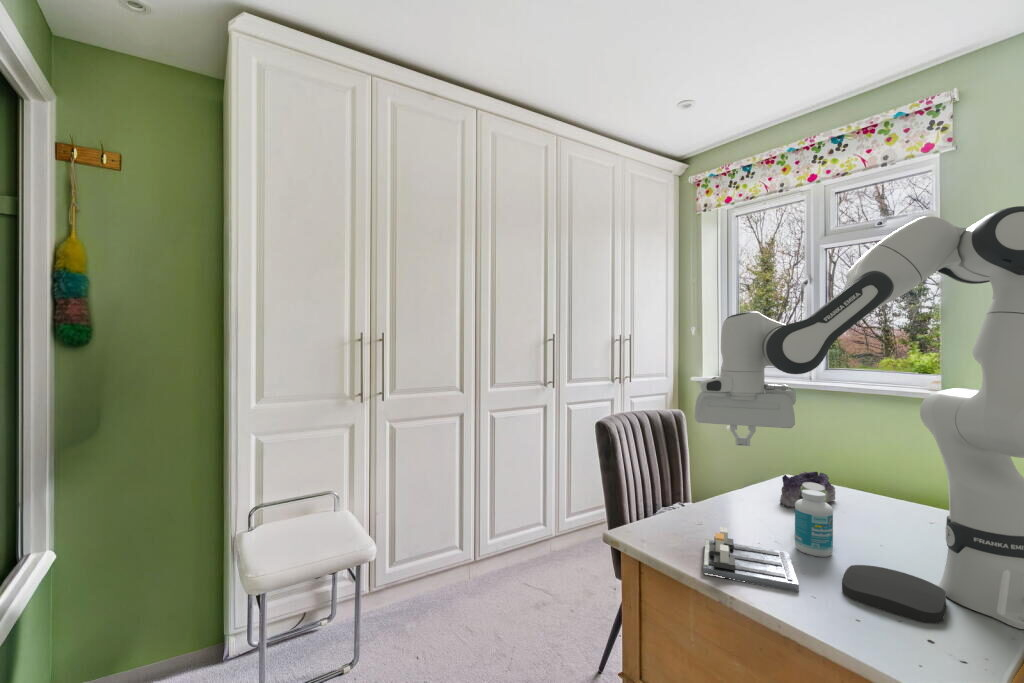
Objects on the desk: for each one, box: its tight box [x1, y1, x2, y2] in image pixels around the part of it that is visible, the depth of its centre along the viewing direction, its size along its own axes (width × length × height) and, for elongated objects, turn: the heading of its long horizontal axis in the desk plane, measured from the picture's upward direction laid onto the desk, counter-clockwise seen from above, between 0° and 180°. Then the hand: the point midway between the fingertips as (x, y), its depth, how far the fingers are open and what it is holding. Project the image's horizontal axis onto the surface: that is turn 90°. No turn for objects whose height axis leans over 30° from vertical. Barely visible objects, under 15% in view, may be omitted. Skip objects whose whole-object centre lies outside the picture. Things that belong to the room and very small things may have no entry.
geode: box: [779, 471, 836, 510], centre depth 142 cm, size 20×12×10 cm, turn 124°
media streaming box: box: [841, 564, 947, 625], centre depth 88 cm, size 15×15×3 cm
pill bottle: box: [794, 490, 834, 558], centre depth 108 cm, size 8×7×14 cm
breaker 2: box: [714, 544, 735, 570], centre depth 97 cm, size 4×4×4 cm
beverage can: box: [799, 482, 828, 504], centre depth 120 cm, size 6×7×12 cm
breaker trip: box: [710, 532, 730, 557], centre depth 102 cm, size 4×4×4 cm
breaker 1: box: [713, 526, 735, 550], centre depth 107 cm, size 4×4×4 cm
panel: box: [702, 539, 800, 593], centre depth 100 cm, size 17×16×2 cm
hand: (742, 445), depth 105 cm, fingers closed
